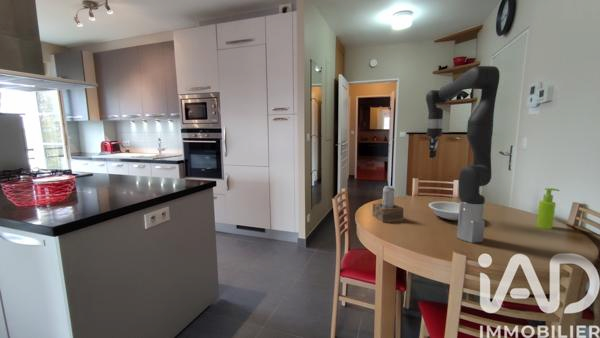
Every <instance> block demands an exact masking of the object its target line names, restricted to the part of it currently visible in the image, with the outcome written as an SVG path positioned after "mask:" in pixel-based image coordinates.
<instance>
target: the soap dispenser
mask: <svg viewBox="0 0 600 338" xmlns="http://www.w3.org/2000/svg"><path fill="white" fill-rule="evenodd" d="M544 190H545V191H546V193H545V194H543V197H542V198H543V200H539V204H538V209H537V210H538V211H537V212H538V213H537V218H536V219H537V220H536V227H537V228H539V229H540V228H541V229H545V230H552V229H553V225H554V216H555V212H556V211H555V209H556V204H557V203H556V202H554V199H553V198H554V195H553V194H552V191H556V192H557V191H558V192H560V189H556V188H553V187H552V188H550V187H548V188H546V187H545V188H544Z"/></svg>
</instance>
